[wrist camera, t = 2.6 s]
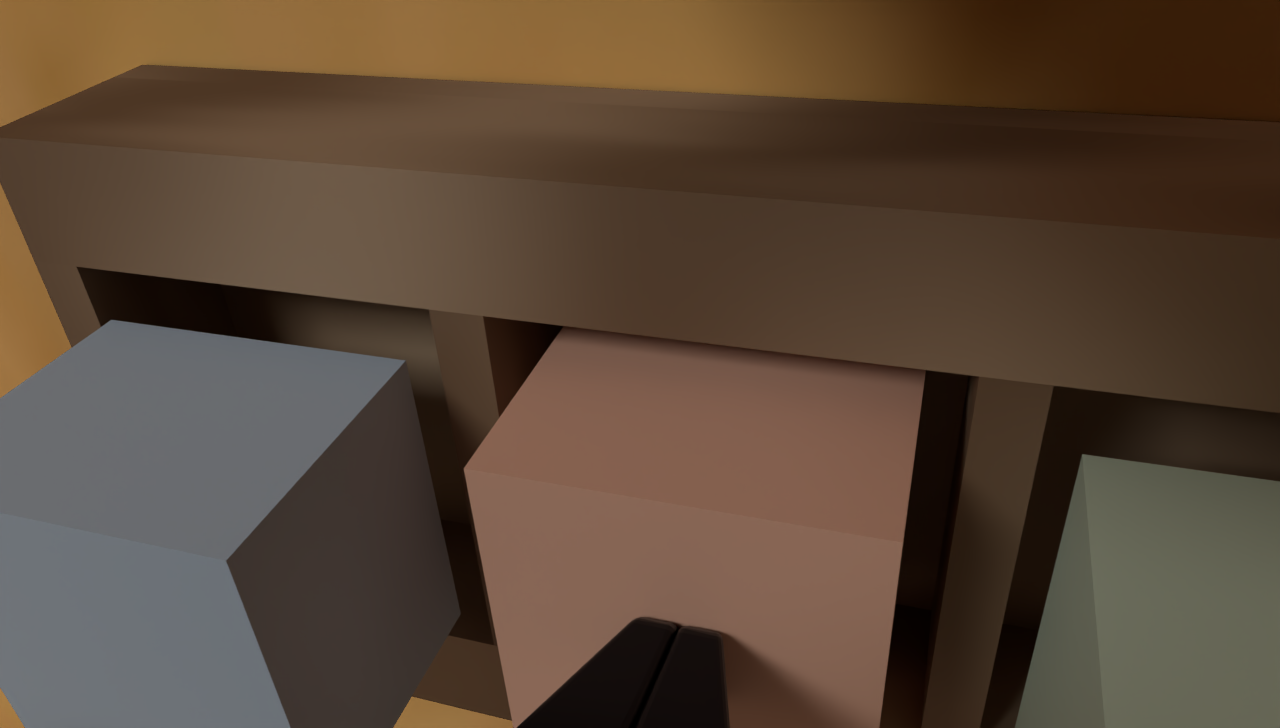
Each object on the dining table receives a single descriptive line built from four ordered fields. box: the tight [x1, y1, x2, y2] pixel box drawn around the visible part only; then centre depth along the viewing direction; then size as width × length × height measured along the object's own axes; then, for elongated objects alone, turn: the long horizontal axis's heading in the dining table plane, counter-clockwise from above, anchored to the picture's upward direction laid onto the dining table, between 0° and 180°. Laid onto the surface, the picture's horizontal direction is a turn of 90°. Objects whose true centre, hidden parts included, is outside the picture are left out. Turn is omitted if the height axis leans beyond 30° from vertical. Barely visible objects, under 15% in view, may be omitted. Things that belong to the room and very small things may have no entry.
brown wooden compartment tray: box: [0, 65, 1280, 728], centre depth 12 cm, size 16×8×2 cm, turn 93°
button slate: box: [0, 320, 461, 728], centre depth 11 cm, size 4×4×3 cm
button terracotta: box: [464, 326, 926, 728], centre depth 11 cm, size 4×4×3 cm
